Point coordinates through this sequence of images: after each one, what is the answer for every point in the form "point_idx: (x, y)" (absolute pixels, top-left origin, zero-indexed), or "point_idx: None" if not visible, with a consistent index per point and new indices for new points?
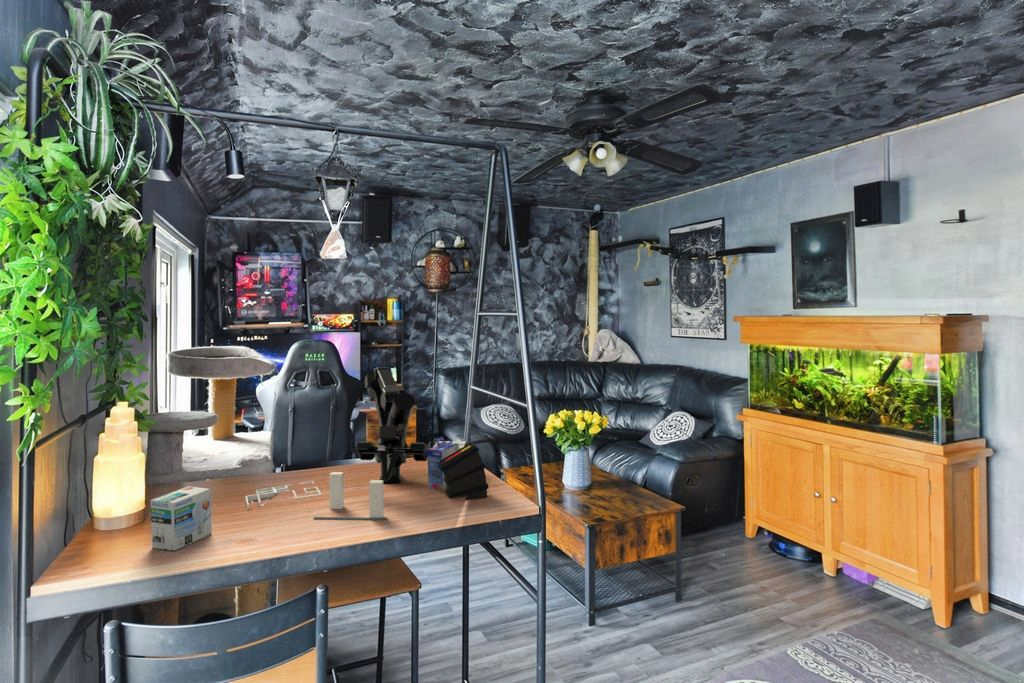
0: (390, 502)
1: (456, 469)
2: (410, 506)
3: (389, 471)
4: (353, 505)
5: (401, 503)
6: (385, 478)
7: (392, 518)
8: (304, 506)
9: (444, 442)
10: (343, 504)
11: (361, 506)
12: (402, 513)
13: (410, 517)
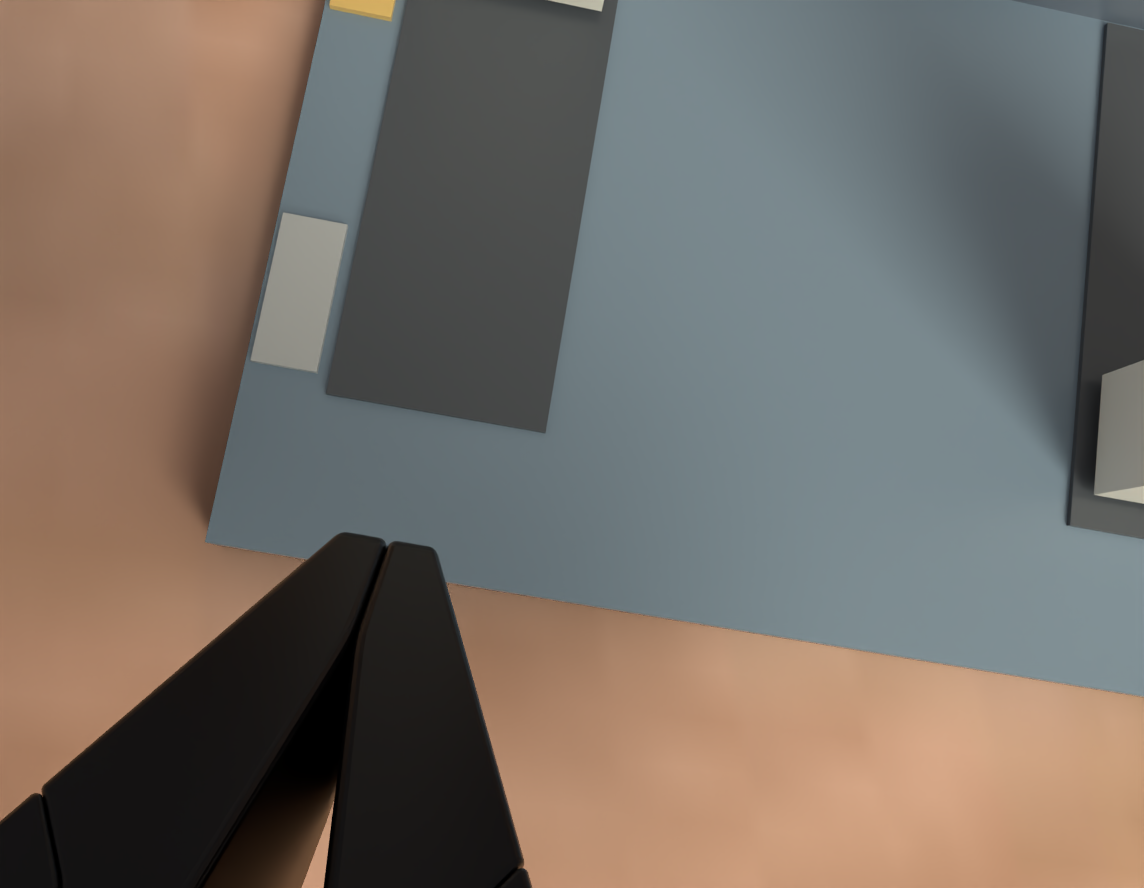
0: None
1: None
2: (16, 573)
3: (251, 663)
4: (969, 739)
5: None
6: (414, 545)
7: (304, 82)
8: None
9: None
10: (1123, 455)
11: (836, 674)
12: (155, 261)
13: (30, 76)
